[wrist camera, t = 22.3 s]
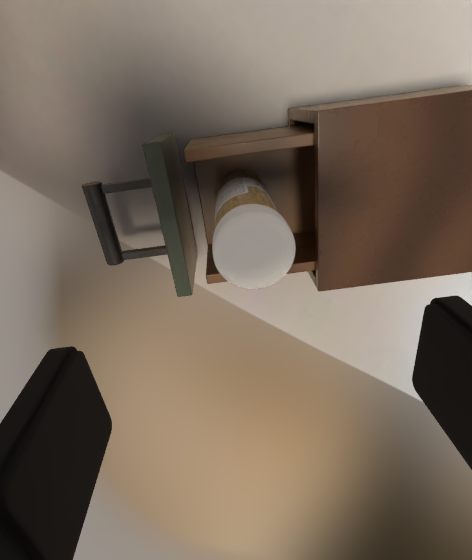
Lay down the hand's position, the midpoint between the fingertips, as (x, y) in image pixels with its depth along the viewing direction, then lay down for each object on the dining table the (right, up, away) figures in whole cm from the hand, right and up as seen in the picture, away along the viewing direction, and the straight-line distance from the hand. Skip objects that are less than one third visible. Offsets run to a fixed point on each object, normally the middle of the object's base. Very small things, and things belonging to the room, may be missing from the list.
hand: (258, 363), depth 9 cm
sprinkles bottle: (0, +10, +21) cm, 23 cm away
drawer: (-2, +10, +22) cm, 24 cm away
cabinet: (+12, +12, +22) cm, 28 cm away
